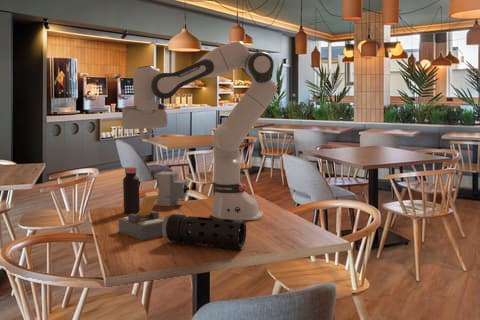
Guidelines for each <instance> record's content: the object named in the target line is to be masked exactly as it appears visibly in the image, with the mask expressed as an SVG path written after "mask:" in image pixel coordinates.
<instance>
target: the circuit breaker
mask: <svg viewBox="0 0 480 320" xmlns="http://www.w3.org/2000/svg"><path fill="white" fill-rule="evenodd" d="M155 179H156V184H157V185H158V197H157V198H156V204H157V205H156V206H161V207H175V206H176V205H178V204H179V201H180V200H179V199H181V200H182V199H185V198H186V197H187V196H188V191H189V190H190V186H188V180H187V179H179V171H161V172H158V173H156V178H155ZM174 203H175V204H174Z"/></svg>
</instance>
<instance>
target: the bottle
mask: <svg viewBox="0 0 480 320" xmlns="http://www.w3.org/2000/svg"><path fill="white" fill-rule="evenodd" d="M124 173H125V177H123V179H122V185H123V186H122V187H123V188H122V189H123V192H122V193H123V213H124V214H127V215H128V214H132V213H133V214H136V215H137V214H138V213H139V210H140V207H141V205H140V203H141V202H140V201H141V200H140V179H139V177H138V176H137V167H136V166H126V167H124Z"/></svg>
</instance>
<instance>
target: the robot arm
mask: <svg viewBox="0 0 480 320" xmlns="http://www.w3.org/2000/svg"><path fill="white" fill-rule="evenodd" d="M274 65H275V64H274V59H273V57H272V55H270V54H269V53H268V52H265V51H256V52H251V51H249V50H248V47H247V45H246V44H245V43H244V42H242V41H240V40H236V41H233V42H229V43H225V44H223V45H220V46H218V47H215V48H213V49H212V50H210V51H208V52H207V53H205V54H204V55H203V56H201V57H200V58H199V59H198V60H197V61H195V63H193V64H191V65H188V66H186V67H184V68H181V69H179V70H177V71H175V72H162V71H160V70H158V69H156V68H155V67H154V66H152V65H144V66H139V67H137V68H136V69H134V72H133V77H132V79H133V81H132V83H133V84H132V87H133V92H134V93H133V105H131V106H130V105H129V106H128V105H126V106H124V108H122V111H121V114H122V118H121V128H122V129H123V130H138V133H139V134H140V139H141V140H150V136H151V133H152V131H153V129H157V128H160V129H161V128H166V127H167V126H168V114H167V111H166V110H167V106H166V104H163V103H161V102H158V101H157V100H156V97H157V98H159V99H161V100H167V99H170V98H172V97H173V96H174V95H175V94H176V93H177V92H178V91H179V90H180V89H182V87H185V86H186V85H189V84H191V83H193V82H196V81H197V80H201V79H204V78H215V77H220V76H223V75H225V74H228V73H230V72H232V71H234V70H237V69H241V71H243V72H244V74H245V75H246V76H247V77H248V78H251V84H250V87H249V88H248V89H246V90H247V91H246V92H245V93H244V94H243V95H242V97H241V98H240V99H239V101H237V103H236V105H234V107H233V109H232V110H231V111H230V113H229V115H228V116H227V118H226V119H225V121H223V123H222V124H220V125H218V126H217V127H216V128H215V130H214V132H213V160H214V161H213V163H214V182H213V186H212V192H213V202H212V208H211V213H210V216H212V218H219V219H230V220H243V221H257V220H261V218H262V217H264V212H263V211H262V210H259V206H258V201H257V200H256V199H255V198H254V197H252V195H250V194H248V193H247V191H246V190H245V189H246V183H242V182H241V158H240V157H241V155H240V146H241V145H242V143H243V142H244V141H245V139H246V138H247V136H248V135H249V133H250V132H251V130H252V128H253V127H254V125H255V124H256V123H257V122H258V120H259V119H260V117H261V116H262V115H263V114H264V112H265V111H266V110H267V108H268V107H269V106H270V104H271V102H272V101H273V100H274V97H275V95H276V93H277V91H278V87H277V85H276V83H275V82H274V80H272V78H273V74H274V73H273V72H274V67H275V66H274ZM145 130H146V133H145Z"/></svg>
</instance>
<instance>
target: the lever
mask: <svg viewBox="0 0 480 320" xmlns="http://www.w3.org/2000/svg"><path fill="white" fill-rule="evenodd" d="M158 195H159V192H157V190H155V191H149V192H144V195H143V196H144V197H143V199H142V202H141V205H140V210H139V213H136V215H139V216H140V219H144V218H149V217H151V211H153V208H154V206H155V204H156V202H157V197H158Z"/></svg>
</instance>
